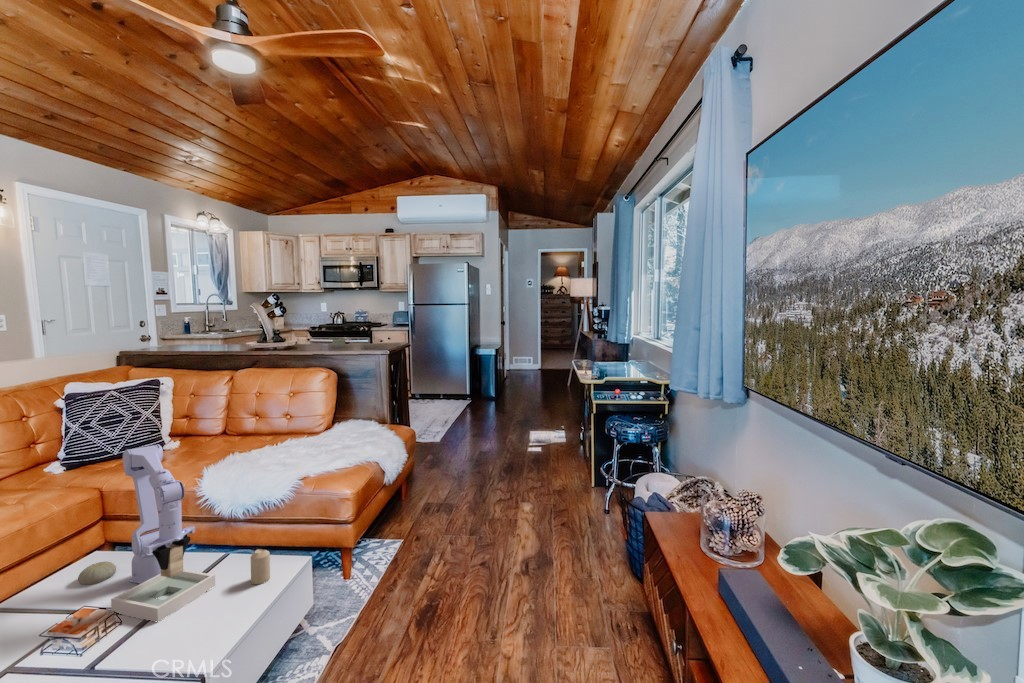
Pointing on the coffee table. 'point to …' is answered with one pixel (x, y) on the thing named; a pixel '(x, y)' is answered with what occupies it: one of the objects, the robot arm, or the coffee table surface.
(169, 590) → the tray
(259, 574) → the candle
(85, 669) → the coffee table surface
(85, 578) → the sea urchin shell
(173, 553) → the peg
